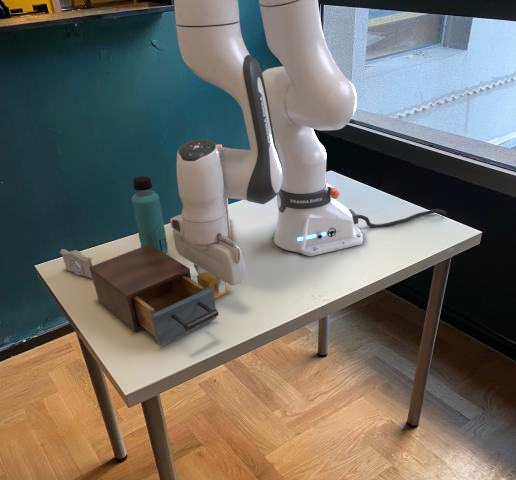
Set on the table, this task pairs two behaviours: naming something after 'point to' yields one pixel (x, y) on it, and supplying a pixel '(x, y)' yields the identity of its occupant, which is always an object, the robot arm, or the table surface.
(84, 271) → the garden wall model
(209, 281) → the block
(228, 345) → the table surface
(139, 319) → the drawer
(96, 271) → the cabinet
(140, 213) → the beverage bottle
